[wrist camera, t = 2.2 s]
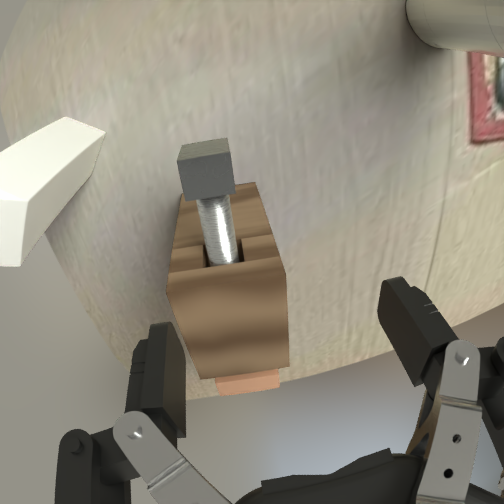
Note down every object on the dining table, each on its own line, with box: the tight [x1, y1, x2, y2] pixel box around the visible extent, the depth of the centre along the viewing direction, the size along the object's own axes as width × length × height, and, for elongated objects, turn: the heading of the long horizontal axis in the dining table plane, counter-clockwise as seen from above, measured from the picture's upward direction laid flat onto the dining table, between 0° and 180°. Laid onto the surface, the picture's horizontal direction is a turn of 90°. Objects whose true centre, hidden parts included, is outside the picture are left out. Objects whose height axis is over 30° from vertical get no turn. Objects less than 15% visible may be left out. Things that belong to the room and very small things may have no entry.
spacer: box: [215, 369, 280, 396], centre depth 37 cm, size 3×7×7 cm, turn 96°
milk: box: [0, 117, 106, 267], centre depth 23 cm, size 6×6×22 cm
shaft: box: [177, 138, 240, 267], centre depth 30 cm, size 29×4×4 cm, turn 6°
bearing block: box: [166, 182, 290, 379], centre depth 34 cm, size 12×9×18 cm
